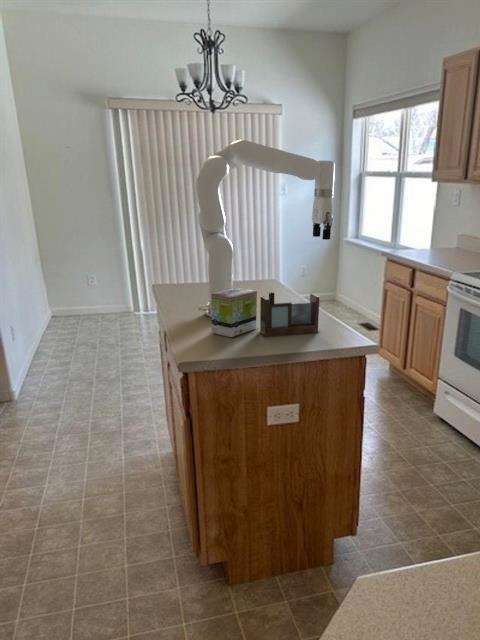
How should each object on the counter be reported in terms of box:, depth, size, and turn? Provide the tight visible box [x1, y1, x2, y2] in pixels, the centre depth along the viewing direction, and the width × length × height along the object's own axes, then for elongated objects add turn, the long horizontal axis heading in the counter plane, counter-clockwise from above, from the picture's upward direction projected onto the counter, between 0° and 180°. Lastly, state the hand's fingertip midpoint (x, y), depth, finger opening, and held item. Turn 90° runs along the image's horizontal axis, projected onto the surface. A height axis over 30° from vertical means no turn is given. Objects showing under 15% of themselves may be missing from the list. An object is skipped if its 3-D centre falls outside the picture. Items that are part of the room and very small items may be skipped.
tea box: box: [211, 287, 258, 338], centre depth 195 cm, size 15×10×15 cm, turn 148°
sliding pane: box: [268, 291, 293, 328], centre depth 192 cm, size 9×2×14 cm, turn 110°
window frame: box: [259, 292, 320, 338], centre depth 195 cm, size 21×6×14 cm, turn 110°
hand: (321, 237), depth 219 cm, fingers open, 9 cm apart
